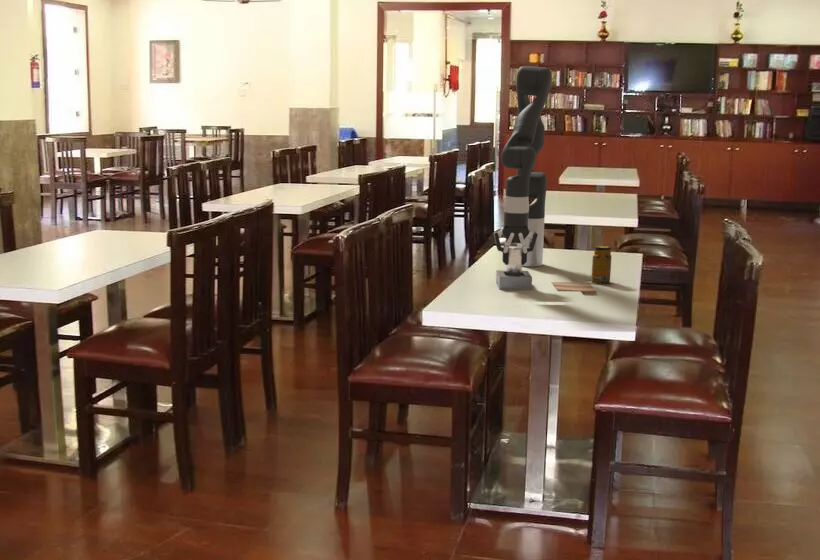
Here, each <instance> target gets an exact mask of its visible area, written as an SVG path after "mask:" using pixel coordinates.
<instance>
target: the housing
mask: <svg viewBox="0 0 820 560" xmlns="http://www.w3.org/2000/svg"><path fill="white" fill-rule="evenodd" d="M495 274H496V275H495V284H496V286H497V288H498V290H503V291H504V290H510V291H511V290H514V291H515V290H517V291H526V290H527V291H532V288H533V276H532V275H531V273H530V272H529V270H522V276H506V270H501V269H500V270H496V272H495Z"/></svg>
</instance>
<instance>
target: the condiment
mask: <svg viewBox="0 0 820 560" xmlns="http://www.w3.org/2000/svg"><path fill="white" fill-rule="evenodd" d="M611 253H612V247H611V246H609V245H595V246H594V253H593V254H592V262H591V263H592V267H591V280H590V281H587V283H589V284H595V285H604V286H614V285H617V284H619V283H620V282H619V281H615V280H614V281H613V280H611V273H612V272H611V271H612V254H611Z"/></svg>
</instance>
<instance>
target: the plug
mask: <svg viewBox="0 0 820 560" xmlns="http://www.w3.org/2000/svg"><path fill="white" fill-rule="evenodd" d="M507 253H508V262H507V265H506V270H505V271H506V276H522V271H523V266H522V254H523V249H522V248H521V247H517V246H509V248H508V251H507Z"/></svg>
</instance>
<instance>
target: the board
mask: <svg viewBox="0 0 820 560" xmlns="http://www.w3.org/2000/svg"><path fill="white" fill-rule="evenodd" d="M551 284H552V285H553V287H554V288H555V290H556V291H557V292H580V293H581V294H582V295H597V290H596V288H594V286H593V285H591V283H588V282H573V281H570V282H565V281H562V282H561V281H560V282H559V281H557V282H556V281H552V282H551Z"/></svg>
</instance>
